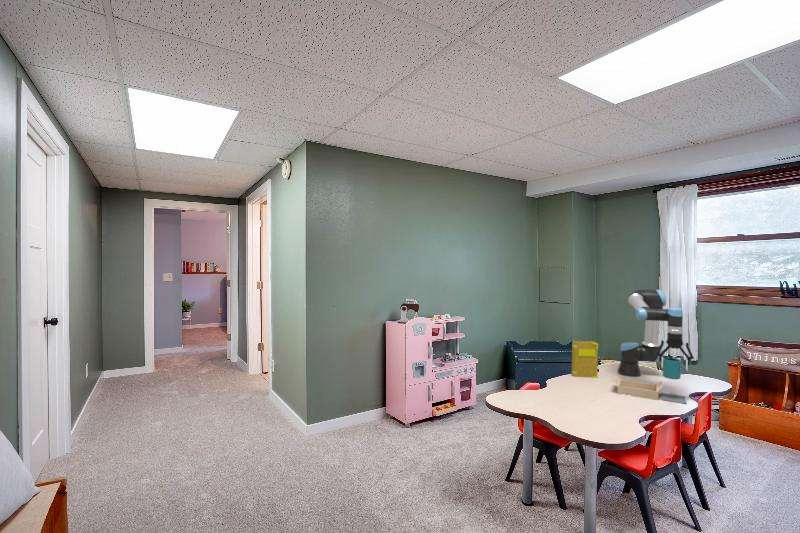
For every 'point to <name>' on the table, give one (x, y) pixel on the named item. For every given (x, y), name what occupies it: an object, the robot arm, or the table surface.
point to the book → (584, 359)
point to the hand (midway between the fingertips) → (674, 368)
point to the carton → (638, 388)
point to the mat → (674, 398)
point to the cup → (672, 368)
